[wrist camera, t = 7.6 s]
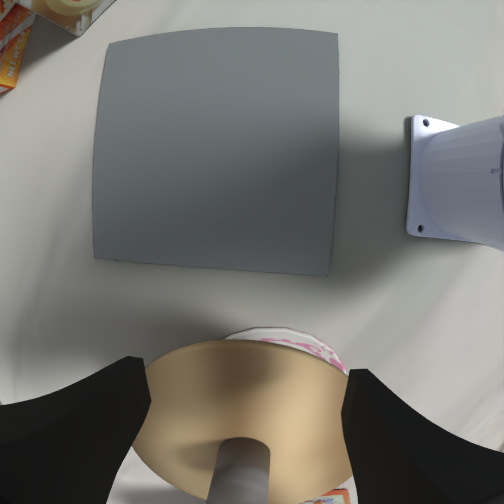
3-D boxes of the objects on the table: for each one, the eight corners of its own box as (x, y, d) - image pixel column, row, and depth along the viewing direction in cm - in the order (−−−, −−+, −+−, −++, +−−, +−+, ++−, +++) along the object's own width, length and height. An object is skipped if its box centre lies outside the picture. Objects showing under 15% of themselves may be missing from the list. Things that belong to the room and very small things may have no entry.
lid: (362, 308, 13) (397, 363, 8) (370, 482, 16) (382, 531, 11) (89, 354, 15) (43, 399, 10) (181, 500, 18) (167, 543, 13)
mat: (336, 36, 16) (337, 33, 15) (326, 274, 19) (327, 276, 18) (112, 46, 17) (109, 43, 16) (97, 256, 20) (94, 258, 19)
